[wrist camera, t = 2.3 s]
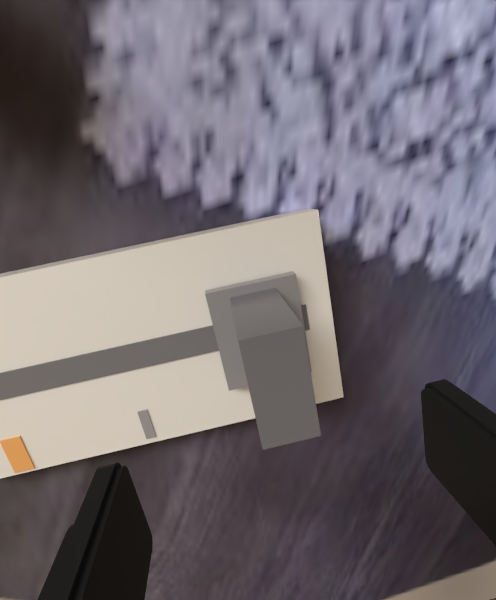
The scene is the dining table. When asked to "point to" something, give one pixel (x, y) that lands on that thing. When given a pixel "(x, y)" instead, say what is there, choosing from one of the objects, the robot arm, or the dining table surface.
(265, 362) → the fader tab
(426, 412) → the robot arm
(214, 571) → the dining table surface
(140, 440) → the fader console
